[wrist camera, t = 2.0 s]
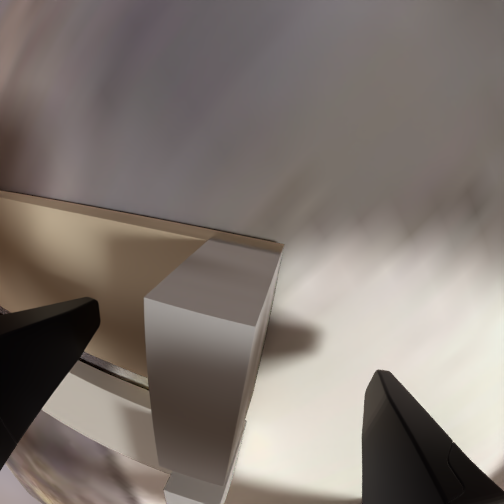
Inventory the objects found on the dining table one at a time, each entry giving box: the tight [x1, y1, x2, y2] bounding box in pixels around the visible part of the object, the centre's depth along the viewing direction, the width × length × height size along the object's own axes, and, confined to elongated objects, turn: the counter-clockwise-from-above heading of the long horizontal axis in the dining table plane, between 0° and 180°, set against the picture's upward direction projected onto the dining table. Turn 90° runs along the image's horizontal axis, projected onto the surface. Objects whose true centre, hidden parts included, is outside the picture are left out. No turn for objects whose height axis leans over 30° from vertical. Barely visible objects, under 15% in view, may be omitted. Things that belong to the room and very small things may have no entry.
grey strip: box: [41, 360, 246, 504], centre depth 12 cm, size 6×24×4 cm, turn 81°
